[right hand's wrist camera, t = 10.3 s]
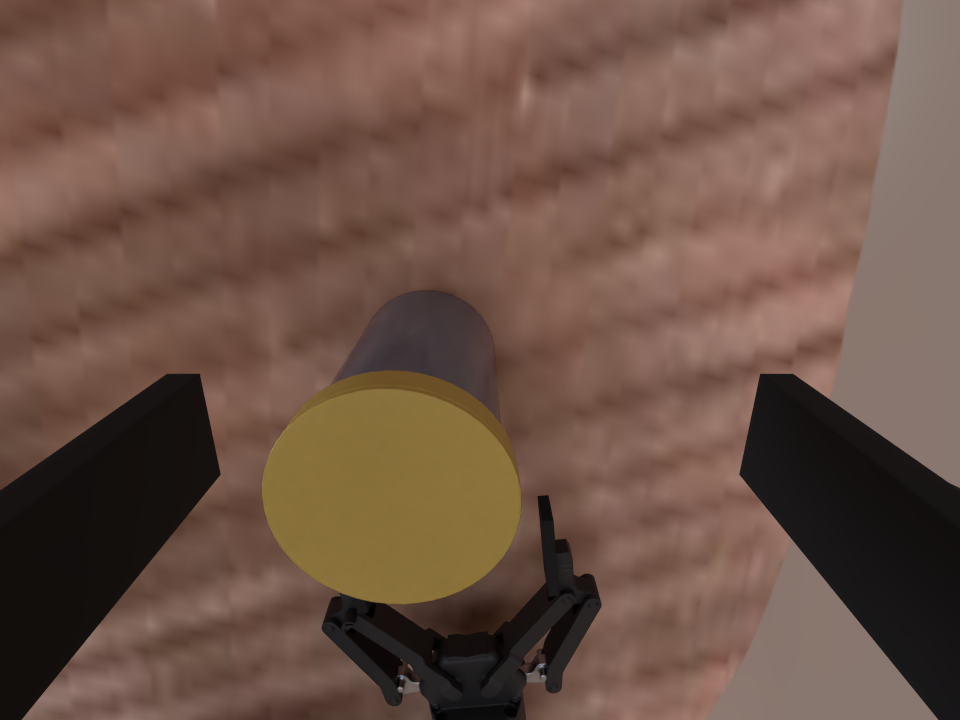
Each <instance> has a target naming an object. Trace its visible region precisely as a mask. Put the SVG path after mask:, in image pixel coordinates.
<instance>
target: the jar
mask: <svg viewBox="0 0 960 720" xmlns="http://www.w3.org/2000/svg"><path fill="white" fill-rule="evenodd" d="M386 370H392V371H409V372H415V373H422V374H425V375H429V376H433V377H436V378H439V379H442V380H444V381H446V382H449V383H451V384H454V385H455V386H457V387H459V388H461V389H462V390H464V391H466V392H468V393H469V394H471V395H472V396H473V397H475V398H476V399H477V400H479V401H480V402H481V403H482V404H483V405H484V406H485V407H486V408H487V409H488V410H489V411H490V412H491V413H492V414H493V415H494V416H495V417H496V419H497V420H498V421H499V422H500V424H501V420H500V408H499V396H498V385H497V373H496V361H495V349H494V342H493V338H492V335H491V333H490V330H489V328H488V326H487V324H486V322H485V321H484V320H483V318H482V317H481V316H480V314H479V313H478V312H477V311H476V310H475V309H474V308H473V307H471V306H470V305H469V304H468V303H466V302H464V301H463V300H461V299H459V298H457V297H455V296H453V295H450V294H447V293H443V292H438V291H415V292H410V293H406V294H404V295H401V296H398V297H396V298H395V299H393V300H391V301H389V302H388V303H387V304H385V305H384V306H383V307H382V308H381V309H380V310H379V311H378V312H377V313H376V314H375V315H374V317H373V318H372V320H371V321H370V323H369V324H368V326H367V328H366V329H365V331H364V332H363V334H362V335H361V337H360V339H359V340H358V342H357V343H356V345H355V346H354V348H353V350H352V351H351V353H350V354H349V356H348V358H347V359H346V361H345V362H344V364H343V365H342V367H341V369H340V370H339V372H338V373H337V375H336V376H335V378H334V380H333V381H332V383H331V384H330V385H332V384H334V383H336V382H338V381H340V380H343V379H346V378H348V377H351V376H354V375H358V374H363V373H368V372H375V371H386Z"/></svg>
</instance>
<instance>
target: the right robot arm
mask: <svg viewBox="0 0 960 720" xmlns="http://www.w3.org/2000/svg"><path fill="white" fill-rule="evenodd" d="M220 475H221V474H220V469H219V464H218V459H217V455H216V450H215V445H214V440H213V435H212V431H211V426H210V421H209V416H208V411H207V407H206V402H205V397H204V392H203V387H202V382H201V378H200V374H166V375H165V376H163V377H162V378H160V379H159V380H158V381H156V382H155V383H153V384H152V385H150V386H149V387H148V388H146V389H145V390H143V391H142V392H140V393H139V394H138V395H136V396H135V397H133V398H132V399H130V400H129V401H128V402H126V403H125V404H123V405H122V406H120V407H119V408H118V409H116V410H115V411H113V412H112V413H110V414H109V415H108V416H106V417H105V418H103V419H102V420H100V421H99V422H98V423H96V424H95V425H93V426H92V427H90V428H89V429H88V430H86V431H85V432H83V433H82V434H80V435H79V436H78V437H76V438H75V439H73V440H72V441H70V442H69V443H68V444H66V445H65V446H63V447H62V448H60V449H59V450H58V451H56V452H55V453H53V454H52V455H50V456H49V457H48V458H46V459H45V460H43V461H42V462H40V463H39V464H38V465H36V466H35V467H33V468H32V469H30V470H29V471H27V472H26V473H25V474H23V475H22V476H20V477H19V478H17V479H16V480H15V481H13V482H12V483H10V484H9V485H7V486H6V487H5V488H3V489H2V490H0V720H22V718H23V717H24V716H25V715H26V714H27V712H28V711H29V710H30V709H31V707H32V706H33V705H34V704H35V702H36V701H37V700H38V699H39V698H40V696H41V695H42V694H43V693H44V691H45V690H46V689H47V688H48V686H49V685H50V684H51V683H52V682H53V680H54V679H55V678H56V677H57V675H58V674H59V673H60V672H61V670H62V669H63V668H64V667H65V666H66V664H67V663H68V662H69V661H70V659H71V658H72V657H73V656H74V654H75V653H76V652H77V651H78V650H79V648H80V647H81V646H82V645H83V643H84V642H85V641H86V640H87V638H88V637H89V636H90V635H91V633H92V632H93V631H94V630H95V629H96V627H97V626H98V625H99V624H100V622H101V621H102V620H103V619H104V617H105V616H106V615H107V614H108V613H109V611H110V610H111V609H112V608H113V606H114V605H115V604H116V603H117V601H118V600H119V599H120V598H121V597H122V595H123V594H124V593H125V592H126V590H127V589H128V588H129V587H130V585H131V584H132V583H133V582H134V581H135V579H136V578H137V577H138V576H139V574H140V573H141V572H142V571H143V569H144V568H145V567H146V566H147V565H148V563H149V562H150V561H151V560H152V558H153V557H154V556H155V555H156V553H157V552H158V551H159V550H160V549H161V547H162V546H163V545H164V544H165V542H166V541H167V540H168V539H169V537H170V536H171V535H172V534H173V533H174V531H175V530H176V529H177V528H178V526H179V525H180V524H181V523H182V521H183V520H184V519H185V518H186V516H187V515H188V514H189V513H190V512H191V510H192V509H193V508H194V507H195V505H196V504H197V503H198V502H199V500H200V499H201V498H202V497H203V496H204V494H205V493H206V492H207V491H208V489H209V488H210V487H211V486H212V484H213V483H214V482H215V481H216V480H217V478H218V477H219V476H220ZM739 475H740V476H741V477H742V478H743V480H744V481H745V482H746V483H747V484H748V486H749V487H750V488H751V489H752V491H753V492H754V493H755V494H756V496H757V497H758V498H759V499H760V500H761V502H762V503H763V504H764V505H765V507H766V508H767V509H768V510H769V512H770V513H771V514H772V515H773V516H774V518H775V519H776V520H777V521H778V523H779V524H780V525H781V526H782V528H783V529H784V530H785V531H786V533H787V534H788V535H789V536H790V537H791V539H792V540H793V541H794V542H795V544H796V545H797V546H798V547H799V549H800V550H801V551H802V552H803V553H804V555H805V556H806V557H807V558H808V560H809V561H810V562H811V563H812V565H813V566H814V567H815V568H816V569H817V571H818V572H819V573H820V574H821V576H822V577H823V578H824V579H825V581H826V582H827V583H828V584H829V585H830V587H831V588H832V589H833V590H834V592H835V593H836V594H837V595H838V597H839V598H840V599H841V600H842V601H843V603H844V604H845V605H846V606H847V608H848V609H849V610H850V611H851V612H852V614H853V615H854V616H855V617H856V619H857V620H858V621H859V622H860V624H861V625H862V626H863V627H864V629H865V630H866V631H867V632H868V634H869V635H870V636H871V637H872V638H873V640H874V641H875V642H876V643H877V645H878V646H879V647H880V648H881V649H882V651H883V652H884V653H885V654H886V656H887V657H888V658H889V659H890V661H891V662H892V663H893V664H894V666H895V667H896V668H897V669H898V670H899V672H900V673H901V674H902V675H903V677H904V678H905V679H906V680H907V682H908V683H909V684H910V685H911V686H912V688H913V689H914V690H915V691H916V693H917V694H918V695H919V696H920V698H921V699H922V700H923V701H924V702H925V704H926V705H927V706H928V707H929V709H930V710H931V711H932V712H933V714H934V715H935V716H936V717H937V718H938V720H960V488H959V487H956V486H954V485H952V484H950V483H948V482H947V481H945V480H944V479H942V478H941V477H940V476H938V475H937V474H935V473H934V472H933V471H931V470H930V469H928V468H927V467H925V466H924V465H922V464H921V463H920V462H918V461H917V460H915V459H914V458H912V457H911V456H910V455H908V454H907V453H905V452H904V451H902V450H901V449H900V448H898V447H897V446H895V445H894V444H892V443H891V442H890V441H888V440H887V439H885V438H884V437H882V436H881V435H880V434H878V433H877V432H875V431H874V430H872V429H871V428H870V427H868V426H867V425H865V424H864V423H862V422H861V421H860V420H858V419H857V418H855V417H854V416H852V415H851V414H850V413H848V412H847V411H845V410H844V409H842V408H841V407H840V406H838V405H837V404H835V403H834V402H832V401H831V400H830V399H828V398H827V397H825V396H824V395H822V394H821V393H820V392H818V391H817V390H815V389H814V388H812V387H811V386H810V385H808V384H807V383H805V382H804V381H802V380H801V379H800V378H798V377H797V376H795V375H794V374H760V378H759V382H758V387H757V392H756V397H755V402H754V407H753V411H752V416H751V421H750V426H749V431H748V435H747V440H746V445H745V450H744V455H743V459H742V464H741V469H740V474H739Z"/></svg>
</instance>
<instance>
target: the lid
mask: <svg viewBox="0 0 960 720" xmlns="http://www.w3.org/2000/svg"><path fill="white" fill-rule="evenodd" d="M262 497H263V504H264V510H265V514H266V517H267V521H268V524H269V526H270V528H271V530H272V532H273V535H274V537H275V538H276V540H277V541H278V543H279V545H280V546H281V548H282V549H283V550H284V551H285V553H286V554H287V555H288V556H289V557H290V559H291V560H292V561H293V562H294V563H295V564H296V565H297V566H299V567H300V568H301V569H302V570H303V571H304V572H306V573H307V574H308V575H310V576H311V577H312V578H314V579H315V580H317V581H318V582H320V583H322V584H324V585H325V586H327V587H329V588H331V589H333V590H336V591H338V592H340V593H342V594H345V595H348V596H351V597H354V598H357V599H362V600H366V601H370V602H377V603H385V604H412V603H421V602H427V601H433V600H436V599H440V598H443V597H447V596H449V595H452V594H454V593H457V592H459V591H462V590H463V589H465V588H467V587H469V586H471V585H472V584H474V583H476V582H477V581H478V580H480V579H481V578H482V577H484V576H485V575H486V574H487V573H488V572H490V571H491V570H492V569H493V568H494V567H495V566H496V565H497V564H498V562H499V561H500V560H501V559H502V557H503V556H504V555H505V553H506V552H507V550H508V548H509V547H510V545H511V543H512V541H513V539H514V536H515V534H516V532H517V529H518V525H519V520H520V516H521V504H522V501H521V488H520V480H519V473H518V465H517V460H516V456H515V452H514V449H513V447H512V444H511V442H510V439H509V437H508V435H507V434H506V432H505V430H504V428H503V427H502V425H501V424H500V422H499V421H498V420H497V419H496V417H495V416H494V415H493V414H492V413H491V412H490V411H489V410H488V409H487V408H486V407H485V406H484V405H483V404H482V403H481V402H480V401H479V400H477V399H476V398H475V397H473V396H472V395H471V394H469V393H468V392H466V391H464V390H462V389H461V388H459V387H457V386H455V385H454V384H451V383H449V382H446V381H444V380H442V379H439V378H436V377H433V376H429V375H425V374H422V373H415V372H409V371H392V370H386V371H375V372H368V373H363V374H358V375H354V376H351V377H348V378H346V379H343V380H340V381H338V382H336V383H334V384H332V385H330V386H328V387H326V388H324V389H323V390H321V391H320V392H318V393H317V394H316V395H314V396H313V397H312V398H311V399H309V400H308V401H307V402H306V403H305V404H304V405H303V406H302V407H301V408H300V409H299V411H298V412H297V413H296V415H295V416H294V417H293V418H292V420H291V421H290V423H289V424H288V426H287V427H286V428H285V430H284V431H283V433H282V434H281V436H280V437H279V438H278V440H277V442H276V444H275V445H274V447H273V449H272V451H271V452H270V455H269V458H268V460H267V463H266V466H265V471H264V476H263V486H262Z"/></svg>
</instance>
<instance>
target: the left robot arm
mask: <svg viewBox="0 0 960 720" xmlns="http://www.w3.org/2000/svg"><path fill="white" fill-rule="evenodd" d="M538 506H539V517H540V528H541V540H542V551H543V562H544V571H545V577H546V583H545V584H544V585H543V586H542V588H541V589H540V590H539V591H538V592H537V593H536V594H535V595H534V596H533V597H532V598H531V600H530V601H529V602H528V603H527V604H526V605H525V606H524V607H523V608H522V609H521V610H520V612H519V613H518V614H517V615H516V616H515V617H514V618H513V619H512V620H511V621H510V622H507V621H506V622H504V623H503V625H502V626H501V627H500V628H499V629H498V630H497V631H496V632H495V633H494V634H493V636H492V635H488V633H487V632H478V633H474V634H471V635H460V634H455V635H448V638H447V639H446V638H444V637H443V636H441V635H440V634H438V633H437V632H435V631H434V630H432V629H431V628H428V629H427V630H424V629H422V628H421V627H419V626H418V625H416V624H415V623H414V622H412V621H411V620H409V619H408V618H406V617H405V616H403V615H402V614H400V613H399V612H397V611H396V610H394V609H393V608H391V607H390V606H388V605H387V604H385V603H377V602H370V601H366V600H362V599H357V598H354V597H351V596H348V595H345V594H342V593H340V596H341V597H333V598H332V599H331V600H330V603H329V606H328V609H327V612H326V615H325V618H324V621H323V625H322V631H323V632H324V633H325V634H326V635H327V636H328V637H329V638H330V639H331V640H332V641H333V642H334V643H335V644H336V645H337V646H338V647H339V648H340V649H341V650H342V651H343V652H344V653H345V654H347V655H348V656H349V657H350V658H351V659H352V660H353V661H354V662H355V663H356V664H357V665H358V666H359V667H360V668H361V669H362V670H363V671H364V672H365V673H366V674H367V675H368V676H369V677H370V678H371V679H372V680H373V681H374V682H375V683H376V684H377V685H378V686H379V687H380V688H381V690H382V692H383V695H384V697H385V699H386V702H387V703H388V704H389V705H391V706H398V705H400V704H401V702H402V696H403V694H409V693H415V692H421V694H422V695H423V696H424V697H425V698H426V699H427V700H428V701H429V705H430V710H431V715H432V719H433V720H526V716H525V708H524V700H523V692H522V690H523V688H524V687H525V685H526V683H545V685H546V690H547V691H548V692H550V693H557V692H559V691H560V690H561V688H562V676H563V671H564V669H565V668H566V666H567V664H568V662H569V661H570V659H571V657H572V656H573V654H574V652H575V651H576V649H577V647H578V645H579V644H580V642H581V640H582V639H583V637H584V635H585V634H586V632H587V630H588V628H589V627H590V625H591V623H592V622H593V620H594V618H595V617H596V615H597V613H598V611H599V610H600V608H601V601H600V597H599V593H598V589H597V586H596V582H595V579H594V577H593V575H591V574H583V575H582V576H580V577H578V576H575V575H574V574H573V560H572V554H571V550H570V546H569V543H568V541H567V540H566V539H559V540H555V534H554V522H553V516H552V511H551V506H550V501H549V496H548V495H546V496H538ZM550 629H551V630H550ZM549 630H550V632H549V634H548V635H547V637H546V639H545V642H544V646H543V649H538V650H537V655H536V656H535V657H534V660H533V661H532V662H530V663H527V664H525V662H524V660H523V658H524V656H525V655H526V654H527V653H528V652H529V651H530V650H531V649H532V648H533V646H534V645H535V644H536V643H537V642H538V641H539V640H540V639H541V638H542V637H543V636H544V635H545V634H546V633H547V632H548V631H549ZM432 650H433V651H434V652H433V653H432ZM401 659H402V660H403V661H401ZM408 664H410V665H411V666H412V668H413V671H414V672H413V671H412V670H411V669H410V668H409V667H407V666H408Z"/></svg>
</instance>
